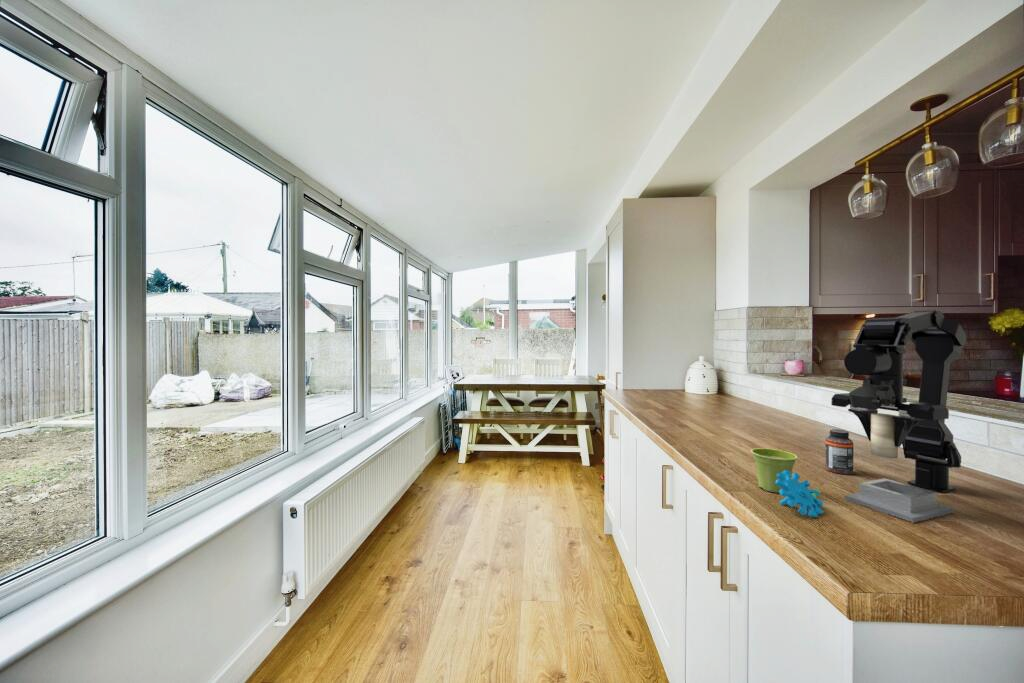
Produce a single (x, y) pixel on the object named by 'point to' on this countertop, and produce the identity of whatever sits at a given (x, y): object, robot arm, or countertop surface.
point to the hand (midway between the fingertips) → (884, 444)
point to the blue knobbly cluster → (799, 494)
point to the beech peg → (883, 436)
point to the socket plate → (912, 517)
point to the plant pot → (772, 466)
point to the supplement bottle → (839, 452)
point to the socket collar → (898, 495)
